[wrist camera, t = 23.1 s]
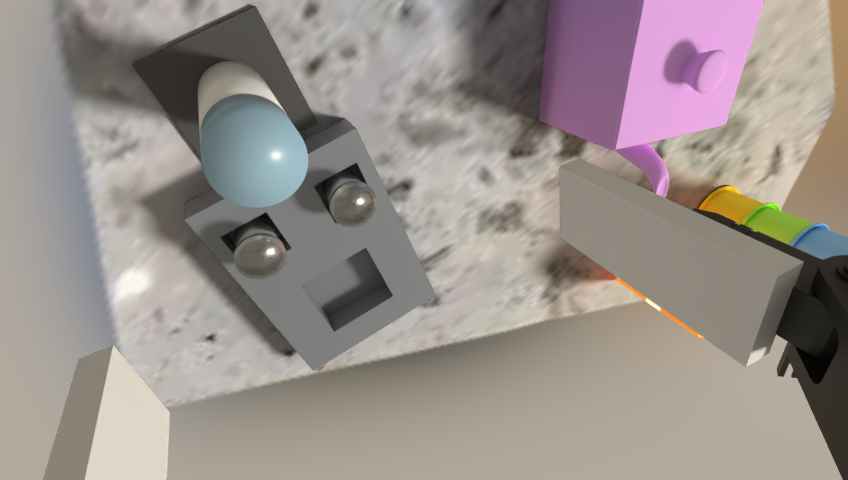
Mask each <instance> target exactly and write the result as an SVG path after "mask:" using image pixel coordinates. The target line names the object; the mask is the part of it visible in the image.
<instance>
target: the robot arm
mask: <svg viewBox="0 0 848 480" xmlns="http://www.w3.org/2000/svg"><path fill="white" fill-rule="evenodd" d="M559 171H560V238H562V239H563V240H564V241H566V242H567V243H569V244H570V245H572V246H573V247H574V248H576V249H577V250H579V251H580V252H582V253H583V254H584V255H586V256H587V257H589V258H590V259H592V260H593V261H594V262H596V263H597V264H599V265H600V266H602V267H603V268H604V269H606V270H607V271H609V272H610V273H612V274H613V275H614V276H616V277H617V278H619V279H620V280H622V281H623V282H624V283H626V284H627V285H629V286H630V287H632V288H633V289H635V290H636V291H637V292H639V293H640V294H642V295H643V296H645V297H646V298H647V299H649V300H650V301H652V302H653V303H655V304H656V305H657V306H659V307H660V308H662V309H663V310H665V311H666V312H667V313H669V314H670V315H672V316H673V317H675V318H676V319H677V320H679V321H680V322H682V323H683V324H685V325H686V326H687V327H689V328H690V329H692V330H693V331H695V332H696V333H697V334H699V335H700V336H702V337H703V338H705V339H706V340H708V341H709V342H710V343H712V344H713V345H715V346H716V347H718V348H719V349H721V350H722V351H723V352H725V353H726V354H728V355H729V356H730V357H732V358H733V359H735V360H736V361H738V362H739V363H740V364H742V365H744V366H745V367H747V366H749V365H750V364H752V363H754V362H755V361H757V360H758V359H760V358H762V357H763V356H765V355H766V354H768V353H769V352H770V349H771V346H772V344H773V341H774V338H775V336H776V334H777V335H778V336H780V337H781V338H783V339H785V340H787V341H788V343H787V345H786V348H785V350H784V352H783V355H782V357H781V360H780V362H779V365H778V367H777V373H778V376H782V377H783V376H784V374H785V372H786V370H787V367H788V365H789V364H790V363H791V365H792V367H793V373H792V376H791V377H793V378H797V379H798V381H799V383H800V385H801V388H802V390H803V392H804V394H805V396H806V398H807V401H808V403H809V405H810V408H811V410H812V412H813V414H814V416H815V419H816V421H817V423H818V425H819V428H820V430H821V432H822V434H823V436H824V439H825V441H826V443H827V445H828V448H829V450H830V452H831V454H832V456H833V459H834V461H835V463H836V465H837V467H838V470H839V472H840V474H841V476H842V478H843V480H848V255H839V256H831V257H829V258H826V259H824V260H822V259H820V258H817V257H815V256H813V255H810V254H808V253H806V252H803V251H801V250H799V249H797V248H794V247H792V246H790V245H788V244H785V243H783V242H781V241H779V240H776V239H774V238H772V237H770V236H767V235H765V234H763V233H761V232H758V231H757V232H754V230H753V229H752V228H749V227H747V226H745V225H743V224H740V225H739V224H738V223H737V222H736V221H734V220H731V219H729V218H727V217H725V216H722V215H720V214H718V213H714V212H709V211H705V210H700V209H696V208H694V209H692V210H690V209H688V208H686V207H684V206H681V205H679V204H677V203H675V202H673V201H671V200H668V199H666V198H664V197H662V196H660V195H658V194H655V193H653V192H651V191H649V190H647V189H645V188H642V187H640V186H638V185H636V184H634V183H632V182H629V181H627V180H625V179H623V178H621V177H619V176H616V175H614V174H612V173H610V172H608V171H606V170H603V169H601V168H599V167H597V166H595V165H592V164H590V163H588V162H586V161H584V160H582V159H576V160H574V161H571V162H569V163H566V164H564V165H561V166H559ZM169 420H170V413H169V411H168V410H167V409H166V408H165V407H164V405H163V404H162V403H161V402H160V401H159V399H158V398H157V397H156V396H155V395H154V393H153V392H152V391H151V390H150V389H149V388H148V386H147V385H146V384H145V383H144V382H143V380H142V379H141V378H140V377H139V376H138V374H137V373H136V372H135V371H134V370H133V368H132V367H131V366H130V365H129V364H128V362H127V361H126V360H125V359H124V358H123V356H122V355H121V354H120V353H119V352H118V351H117V349H116V348H115V347H114V346H111V347H108V348H105V349H103V350H100V351H98V352H95V353H93V354H90V355H88V356H85V357H83V358H80V359H79V360H78V363H77V366H76V370H75V373H74V377H73V380H72V383H71V386H70V390H69V393H68V397H67V400H66V403H65V407H64V411H63V414H62V417H61V420H60V424H59V427H58V431H57V434H56V437H55V441H54V444H53V447H52V451H51V454H50V458H49V461H48V464H47V468H46V471H45V475H44V478H43V480H167V461H168V441H169Z"/></svg>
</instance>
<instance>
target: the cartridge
mask: <svg viewBox="0 0 848 480" xmlns="http://www.w3.org/2000/svg"><path fill="white" fill-rule="evenodd" d="M198 111H199V131H200V150H201V164H202V169H203V172H204V175H205V177H206V179H207V181H208V182H209V184H210V186H211V187H212V188H213V189H214V190H215V191H216V192H217V193H218V194H219V195H220V196H222V197H223V198H225V199H226V200H228V201H230V202H232V203H235V204H237V205H241V206H245V207H255V208H258V207H267V206H271V205H275V204H277V203H280V202H282V201H284V200H285V199H287V198H288V197H290V196H291V195H292V194H293V193H294V192H295V191H296V190H297V189H298V188H299V187H300V185H301V184H302V182H303V180H304V178H305V176H306V172H307V168H308V153H307V149H306V145H305V143H304V141H303V139H302V137H301V135H300V134H299V132H298V131H297V129H296V128H295V126H294V125H293V123H292V122H291V120H290V119H289V117H288V116H287V114H286V113H285V111H284V110H283V108H282V107H281V105H280V104H279V102H278V101H277V99H276V98H275V96H274V95H273V93H272V91H271V90H270V88H269V87H268V85H267V84H266V82H265V81H264V79H263V78H262V77H261V75H260V74H259V73H258V72H257V71H256V70H254V69H253V68H252V67H250V66H248V65H246V64H244V63H241V62H237V61H223V62H219V63H216V64H214V65H212V66H210V67H209V68H208V69H207V70H206V71H205V72H204V73H203V75H202V76H201V78H200V80H199V83H198Z"/></svg>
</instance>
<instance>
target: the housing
mask: <svg viewBox="0 0 848 480" xmlns="http://www.w3.org/2000/svg"><path fill="white" fill-rule="evenodd" d="M303 141H304V143H305V145H306V149H307V153H308V168H307V172H306V176H305V178H304V180H303V182H302V184H301V185H300V187H299V188H298V189H297V190H296V191H295V192H294V193H293V194H292V195H291V196H290V197H288V198H287V199H285V200H284V201H282V202H280V203H277V204H275V205H271V206H267V207H258V208H255V207H245V206H241V205H237V204H235V203H232V202H230V201H228V200H226V199H225V198H223V197H222V196H220V195H219V194H218V193H217V192H216V191H215V190H214V189H211V190H209V191H207V192H205V193H203V194H201V195H199V196H198V197H196V198H194V199H192V200H190V201H188V202H186V203H185V217H184V220H185V221H186V223H187V224H188V225H189V226H190V227H191V228H192V230H193V231H194V232H195V233H196V234H197V235H198V237H199V238H200V239H201V240H202V241H203V243H204V244H205V245H206V246H207V247H208V248H209V250H210V251H211V252H212V253H213V254H214V255H215V257H216V258H217V259H218V260H219V261H220V262H221V264H222V265H223V266H224V267H225V268H226V269H227V271H228V272H229V273H230V274H231V275H232V276H233V278H234V279H235V280H236V281H237V282H238V283H239V285H240V286H241V287H242V288H243V289H244V290H245V292H246V293H247V294H248V295H249V296H250V297H251V299H252V300H253V301H254V302H255V303H256V304H257V306H258V307H259V308H260V309H261V310H262V311H263V313H264V314H265V315H266V316H267V317H268V318H269V320H270V321H271V322H272V323H273V324H274V326H275V327H276V328H277V329H278V330H279V331H280V333H281V334H282V335H283V336H284V337H285V338H286V340H287V341H288V342H289V343H290V344H291V345H292V347H293V348H294V349H295V350H296V351H297V352H298V354H299V355H300V356H301V357H302V358H303V359H304V361H305V362H306V363H307V364H308V365H309V366H310V368H311V369H312V370H313V371H314V370H316V369H317V368H319V367H320V366H322V365H324V364H325V363H327V362H329V361H330V360H332V359H333V358H335V357H337V356H338V355H340V354H342V353H343V352H345V351H346V350H348V349H350V348H351V347H353V346H354V345H356V344H358V343H359V342H361V341H363V340H364V339H366V338H367V337H369V336H371V335H372V334H374V333H376V332H377V331H379V330H380V329H382V328H384V327H385V326H387V325H388V324H390V323H392V322H393V321H395V320H397V319H398V318H400V317H401V316H403V315H405V314H406V313H408V312H410V311H411V310H413V309H414V308H416V307H418V306H419V305H421V304H422V303H424V302H426V301H427V300H429V299H431V298H432V297H434V296H435V293H434V291H433V288H432V286H431V284H430V282H429V280H428V278H427V276H426V274H425V272H424V270H423V267H422V265H421V263H420V261H419V259H418V257H417V255H416V253H415V251H414V249H413V246H412V244H411V242H410V240H409V238H408V236H407V234H406V232H405V230H404V228H403V225H402V223H401V221H400V219H399V217H398V215H397V213H396V211H395V209H394V207H393V204H392V202H391V200H390V198H389V196H388V194H387V192H386V190H385V188H384V186H383V183H382V181H381V179H380V177H379V175H378V173H377V171H376V169H375V167H374V165H373V163H372V160H371V158H370V156H369V154H368V152H367V150H366V148H365V146H364V144H363V142H362V139H361V137H360V135H359V133H358V131H357V129H356V128H355V127H354V126H353V125H352V124H351V123H350V122H349V121H348V120H346V119H343V120H341V121H339V122H337V123H336V124H334V125H332V126H330V127H328V128H326V129H324V130H322V131H320V132H319V133H317V134H315V135H313V136H311V137H309V138H307V139H305V140H303ZM344 169H346V170H349V171H351V172H353V173H354V174H355V175H356V176H357V177H358V179H359V180H360V181H361V182H363V183H365V184H367V185H368V186H369V187H370V188H371V189H372V190H373V191H374V193H375V195H376V198H377V208H376V211H375V213H374V215H373V216H372V217H371V218H370V220H368V221H367V222H366V223H364V224H362V225H360V226H357V227H346V226H343V225H341V224H339V223H338V222H336V221H335V219H334V218H333V216H332V215H331V213H330V209H329V203H328V202H327V200H326V198H325V197H324V195H323V192H322V184H323V181H324V180H325V179H327V178H329V177H331V176H333V175H335V174H336V173H338V172H340V171H342V170H344ZM256 217H261V218H264V219H266V220H268V221H270V222H271V223H272V225H273V226H274V228H275V231H276V234H277V237H278V239H279V240H281V242H282V243H283V245H284V247H285V249H286V253H287V259H286V262H285V265H284V267H283V268H282V269H281V270H280V271H279V272H278V273H277V274H275V275H274V276H272V277H269V278H266V279H251V278H248V277H246V276H244V275H242V274H241V273H240V272H239V271H238V270H237V268H236V266H235V263H234V251H235V248H236V245H235V239H234V231H235V229H236V228H238V227H240V226H242V225H243V224H245V223H247V222H249V221H251V220H253V219H254V218H256Z"/></svg>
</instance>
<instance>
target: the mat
mask: <svg viewBox="0 0 848 480" xmlns="http://www.w3.org/2000/svg"><path fill="white" fill-rule="evenodd" d="M223 61H237V62H241V63H244V64H246V65H248V66H250V67H252V68H253V69H254V70H256V71H257V72H258V73H259V74H260V75H261V77H262V78H263V79H264V81H265V82H266V84H267V85H268V87H269V88H270V90H271V91H272V93H273V95H274V96H275V98H276V99H277V101H278V102H279V104H280V105H281V107H282V108H283V110H284V111H285V113H286V114H287V116H288V117H289V119H290V120H291V122H292V123H293V125H294V126H295V128H296V129H297V131H298V132H300V131H302V130H304V129H306V128H308V127H309V126H311V125H313V124H315V123H317V121H316V119H315V117H314V115H313V114H312V112H311V110H310V108H309V106H308V104H307V102H306V100H305V98H304V97H303V95H302V93H301V91H300V89H299V87H298V85H297V83H296V82H295V80H294V78H293V76H292V74H291V72H290V70H289V68H288V66H287V65H286V63H285V61H284V59H283V57H282V55H281V53H280V51H279V49H278V48H277V46H276V44H275V42H274V40H273V38H272V36H271V34H270V33H269V31H268V29H267V27H266V25H265V23H264V21H263V19H262V17H261V16H260V14H259V12H258V10H257V8H256V6H255V7H252V8H250V9H248V10H246V11H244V12H242V13H240V14H238V15H235V16H233V17H231V18H229V19H227V20H225V21H223V22H221V23H218V24H216V25H214V26H212V27H210V28H208V29H206V30H204V31H201V32H199V33H197V34H195V35H193V36H191V37H189V38H186V39H184V40H182V41H180V42H178V43H176V44H174V45H172V46H169V47H167V48H165V49H163V50H161V51H159V52H157V53H155V54H152V55H150V56H148V57H146V58H144V59H142V60H140V61H138V62H135V63H133V64H132V65H133V67H134V68H135V69H136V71H137V72H138V73H139V75H140V76H141V78H142V79H143V80H144V82H145V83H146V84H147V86H148V87H149V88H150V90H151V91H152V92H153V94H154V95H155V96H156V98H157V99H158V100H159V102H160V103H161V104H162V106H163V107H164V108H165V110H166V111H167V112H168V114H169V115H170V116H171V118H172V119H173V121H174V122H175V123H176V125H177V126H178V127H179V129H180V130H181V131H182V133H183V134H184V135H185V137H186V138H187V139H188V141H189V142H190V143H191V145H192V146H193V147H194V149H195V150H196V151H197V153H198V154H199V155H200V157H201V150H200V131H199V111H198V83H199V80H200V78H201V76H202V75H203V73H204V72H205V71H206V70H207V69H208V68H209V67H210V66H212V65H214V64H216V63H219V62H223Z"/></svg>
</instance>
